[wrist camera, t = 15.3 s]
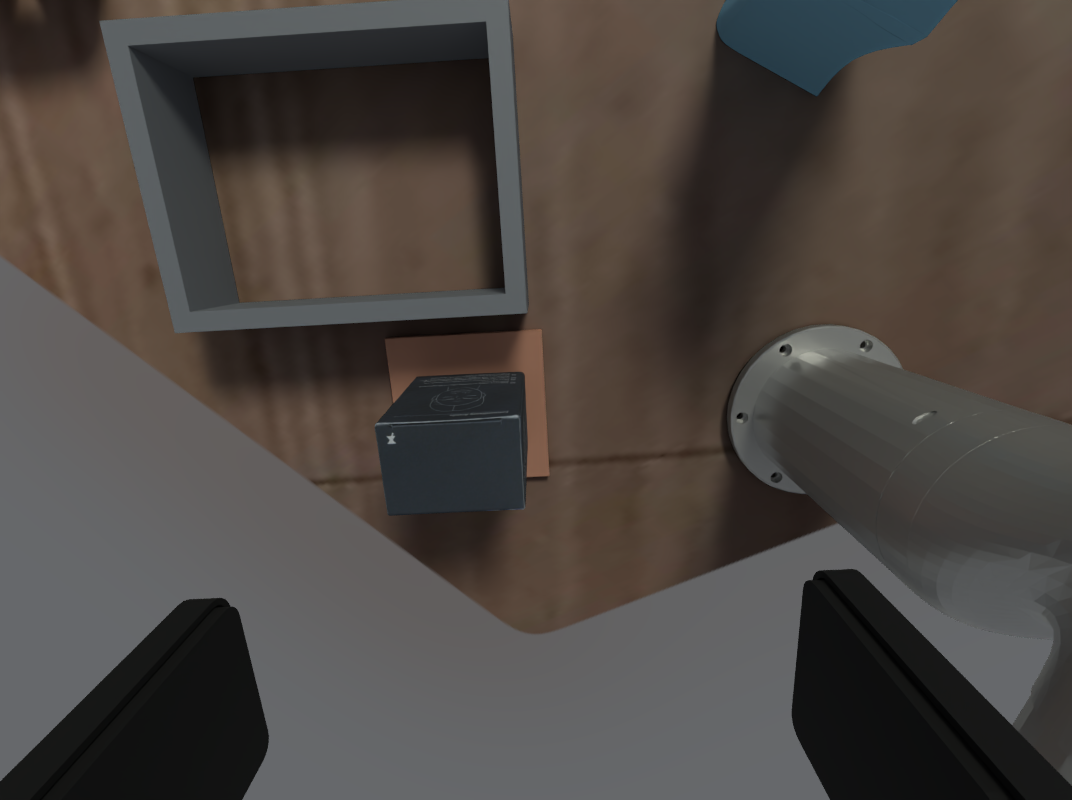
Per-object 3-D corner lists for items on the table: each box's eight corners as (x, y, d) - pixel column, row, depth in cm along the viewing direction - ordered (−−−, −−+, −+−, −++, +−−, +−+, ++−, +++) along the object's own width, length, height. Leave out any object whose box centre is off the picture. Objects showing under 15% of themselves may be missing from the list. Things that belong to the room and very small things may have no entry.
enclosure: (512, 34, 33) (507, -8, 27) (528, 303, 37) (527, 313, 32) (169, 57, 33) (99, 20, 28) (226, 321, 38) (174, 332, 32)
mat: (541, 329, 38) (541, 330, 37) (549, 472, 41) (549, 475, 40) (387, 337, 38) (384, 338, 37) (406, 479, 41) (404, 483, 40)
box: (424, 448, 40) (384, 518, 29) (415, 374, 38) (371, 420, 28) (529, 444, 39) (526, 512, 29) (526, 369, 38) (521, 414, 28)
